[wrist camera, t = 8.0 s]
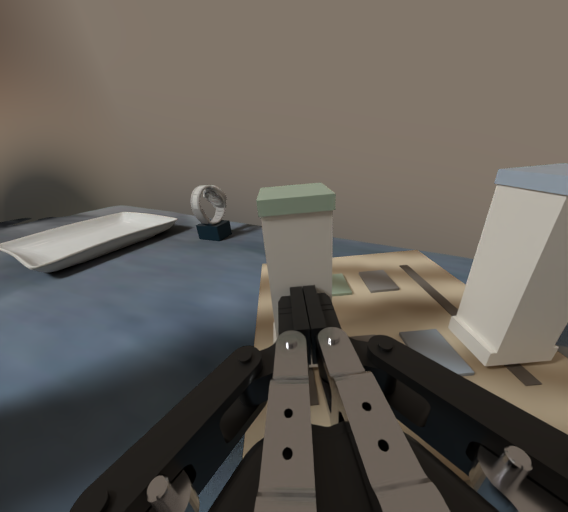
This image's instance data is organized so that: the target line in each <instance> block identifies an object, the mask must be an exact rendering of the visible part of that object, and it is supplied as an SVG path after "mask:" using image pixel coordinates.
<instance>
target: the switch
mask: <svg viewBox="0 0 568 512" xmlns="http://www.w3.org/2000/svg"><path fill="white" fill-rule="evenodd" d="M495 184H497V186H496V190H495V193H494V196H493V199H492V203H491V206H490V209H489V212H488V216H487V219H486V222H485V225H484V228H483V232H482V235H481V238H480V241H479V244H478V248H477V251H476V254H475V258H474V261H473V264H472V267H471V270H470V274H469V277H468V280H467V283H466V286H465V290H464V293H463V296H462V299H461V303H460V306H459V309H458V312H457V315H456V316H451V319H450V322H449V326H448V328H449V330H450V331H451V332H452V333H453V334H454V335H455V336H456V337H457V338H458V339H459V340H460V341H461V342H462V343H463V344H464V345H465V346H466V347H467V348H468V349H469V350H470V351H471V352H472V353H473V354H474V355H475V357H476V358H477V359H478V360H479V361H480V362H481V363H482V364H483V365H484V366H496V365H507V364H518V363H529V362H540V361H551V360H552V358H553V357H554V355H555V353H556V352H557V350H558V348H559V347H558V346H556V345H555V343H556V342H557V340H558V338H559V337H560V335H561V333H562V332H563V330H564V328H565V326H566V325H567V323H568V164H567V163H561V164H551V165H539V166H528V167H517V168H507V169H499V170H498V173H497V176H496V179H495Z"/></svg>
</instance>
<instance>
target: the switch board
mask: <svg viewBox="0 0 568 512" xmlns="http://www.w3.org/2000/svg"><path fill="white" fill-rule="evenodd" d="M465 286H466V285H465V284H464V283H462V282H461V281H459V280H458V279H457V278H455V277H454V276H452V275H451V274H450V273H448V272H447V271H446V270H444V269H443V268H441V267H440V266H439V265H437V264H436V263H434V262H433V261H432V260H430V259H429V258H427V257H426V256H425V255H423V254H422V253H420V252H419V251H418V250H412V251H401V252H390V253H379V254H368V255H357V256H346V257H335V258H332V305H333V307H334V310H335V312H336V315H337V318H338V321H339V323H340V326H341V329H342V330H343V331H344V332H345V333H346V334H347V335H348V336H349V337H350V338H353V339H355V340H360V341H366V342H368V341H369V339H370V338H371V337H373V336H375V335H386V336H389V337H392V338H394V339H395V340H397V341H399V342H401V343H403V344H404V345H406V346H408V347H410V348H412V349H413V350H415V351H417V352H419V353H421V354H423V355H424V356H426V357H428V358H430V359H432V360H433V361H435V362H437V363H439V364H441V365H442V366H444V367H446V368H448V369H450V370H452V371H453V372H455V373H457V374H459V375H461V376H462V377H464V378H466V379H468V380H470V381H471V382H473V383H475V384H477V385H479V386H481V387H482V388H484V389H486V390H488V391H490V392H491V393H493V394H495V395H497V396H499V397H500V398H502V399H504V400H506V401H508V402H510V403H511V404H513V405H515V406H517V407H519V408H520V409H522V410H524V411H526V412H528V413H529V414H531V415H533V416H535V417H537V418H539V419H540V420H542V421H544V422H546V423H548V424H549V425H551V426H553V427H555V428H557V429H558V430H560V431H562V432H564V433H566V434H567V435H568V358H566V357H565V356H564V355H562V354H561V353H560V352H558V351H557V352H556V353H555V355H554V357H553V358H552V360H551V361H540V362H529V363H518V364H507V365H496V366H484V365H483V364H482V363H481V362H480V361H479V360H478V359H477V358H476V357H475V355H474V354H473V353H472V352H471V351H470V350H469V349H468V348H467V347H466V346H465V345H464V344H463V343H462V342H461V341H460V340H459V339H458V338H457V337H456V336H455V335H454V334H453V333H452V332H451V331H450V330H449V328H448V326H449V322H450V319H451V316H456V315H457V312H458V309H459V306H460V303H461V299H462V296H463V293H464V290H465ZM273 322H274V315H273V307H272V300H271V292H270V284H269V276H268V269H267V264H262V272H261V282H260V292H259V302H258V312H257V322H256V331H255V341H254V347H256V348H257V349H258V350H259V351H260V350H263V349H266V348H268V347H270V346H272V345H273ZM308 379H309V395H310V411H311V424H315V425H320V426H325V427H329V426H331V423H330V418H329V414H328V410H327V407H326V403H325V399H324V396H323V392H322V388H321V385H320V381H319V369H318V367H310V368H309V378H308ZM267 404H268V401H267ZM267 404H266V406H265V407H264V408H263V410H262V411H261V412H260V414H259V415H258V416H257V418H256V419H255V420H254V422H253V423H252V424H251V426H250V427H249V428H248V430H247V431H246V432H245V439H244V449H243V458H244V456H245V455H246V453H247V452H248V451H249V450H250V449H251V448H252V447H253V446H254V445H255V444H256V443H257V442H258V441H260V440H261V439H262V438H264V433H265V423H266V414H267ZM397 421H398V423H399V425H400V427H401V429H402V431H403V432H405V433H407V434H408V435H410V436H411V437H413V438H414V439H415V440H417V441H418V442H419V443H420V444H422V445H423V446H424V447H425V448H426V449H427V450H429V451H430V452H431V453H432V454H433V455H434V456H436V457H437V458H438V459H439V460H440V461H441V462H443V463H444V464H445V465H446V466H447V467H448V468H450V469H451V470H452V471H453V472H454V473H455V474H457V475H458V476H459V477H460V478H461V479H462V480H464V481H465V482H466V483H467V484H468V485H469V486H471V487H472V488H473V486H472V484H471V481H470V478H469V476H467V475H466V474H465V473H464V472H462V471H461V470H460V469H459V468H457V467H456V466H455V465H454V464H452V463H451V462H450V461H449V460H447V459H446V458H445V457H444V456H442V455H441V454H440V453H439V452H437V451H436V450H435V449H434V448H432V447H431V446H430V445H429V444H427V443H426V442H425V441H424V440H422V439H421V438H420V437H419V436H417V435H416V434H415V433H414V432H412V431H411V430H410V429H409V428H407V427H406V426H405V425H404V424H402V423H401V422H400V421H399V420H397ZM473 489H474V488H473Z"/></svg>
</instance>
